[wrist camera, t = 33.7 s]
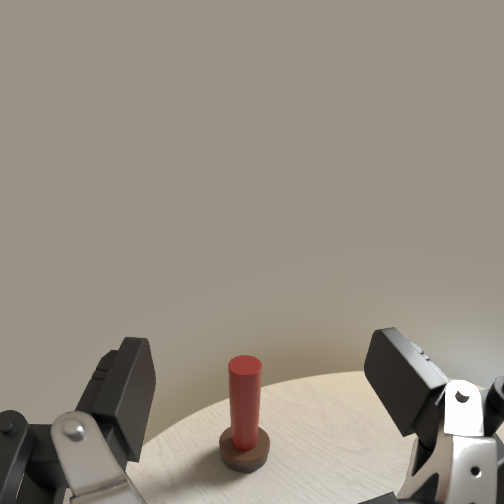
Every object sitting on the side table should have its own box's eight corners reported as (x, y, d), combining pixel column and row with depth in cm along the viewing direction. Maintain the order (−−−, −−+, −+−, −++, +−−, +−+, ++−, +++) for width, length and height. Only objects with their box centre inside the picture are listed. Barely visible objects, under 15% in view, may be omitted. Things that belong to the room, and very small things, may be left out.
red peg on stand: (234, 479, 21) (230, 395, 17) (212, 447, 25) (201, 355, 22) (277, 461, 24) (291, 372, 20) (252, 432, 28) (256, 340, 24)
